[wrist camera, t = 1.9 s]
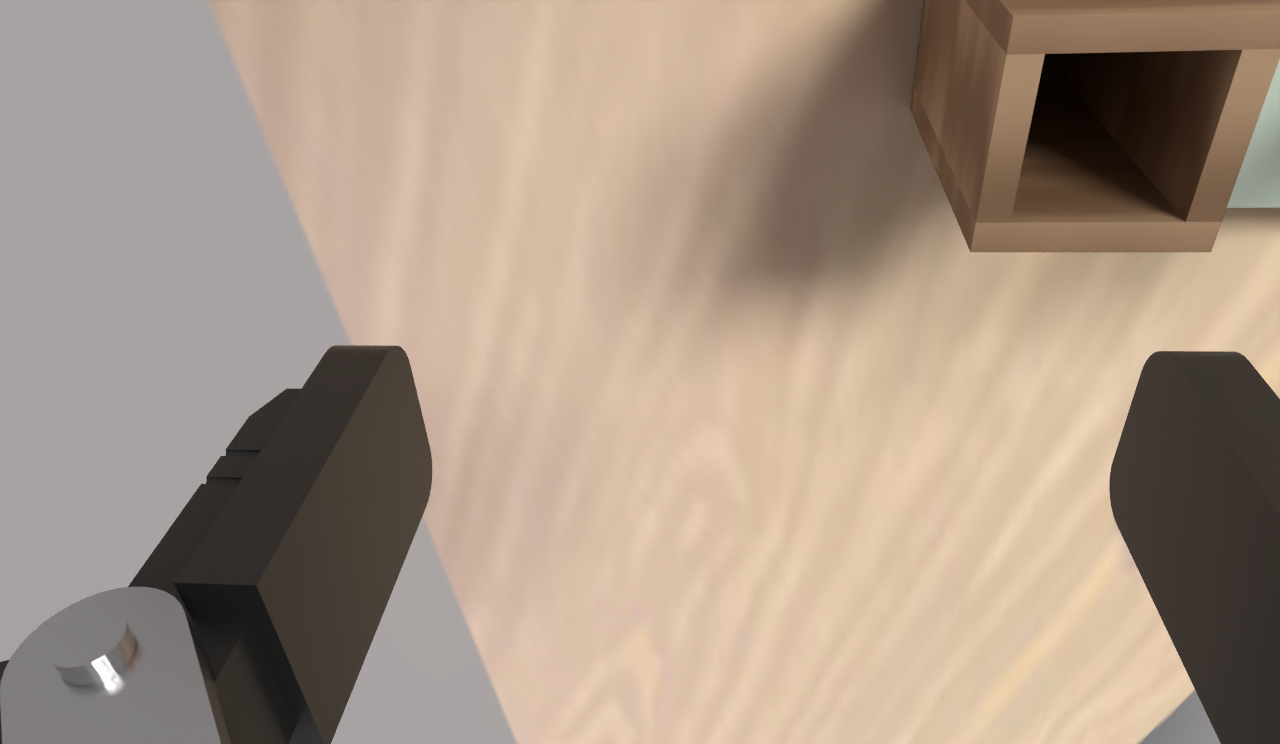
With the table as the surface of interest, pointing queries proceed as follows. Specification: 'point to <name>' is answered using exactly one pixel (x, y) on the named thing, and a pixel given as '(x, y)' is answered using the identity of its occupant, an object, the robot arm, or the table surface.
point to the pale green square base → (1262, 157)
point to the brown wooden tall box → (1092, 118)
